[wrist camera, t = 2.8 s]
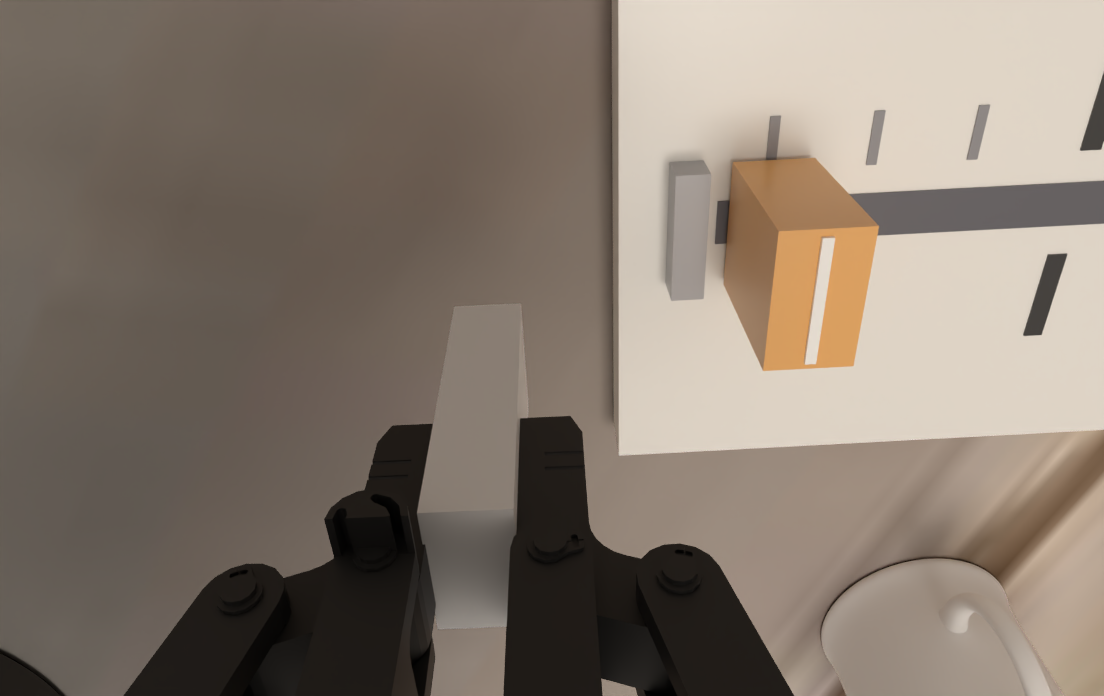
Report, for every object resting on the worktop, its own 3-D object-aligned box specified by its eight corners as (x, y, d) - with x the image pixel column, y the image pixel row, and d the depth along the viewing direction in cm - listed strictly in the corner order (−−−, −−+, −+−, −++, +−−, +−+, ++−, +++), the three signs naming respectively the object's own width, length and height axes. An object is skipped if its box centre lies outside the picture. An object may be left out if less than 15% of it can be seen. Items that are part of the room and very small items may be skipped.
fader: (723, 284, 26) (763, 373, 21) (732, 161, 24) (780, 233, 19) (798, 280, 26) (855, 368, 21) (814, 157, 24) (880, 227, 19)
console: (613, 422, 31) (622, 477, 29) (611, -30, 23) (623, -14, 20) (1180, 392, 31) (1242, 444, 29) (1387, -71, 23) (1503, -60, 20)
